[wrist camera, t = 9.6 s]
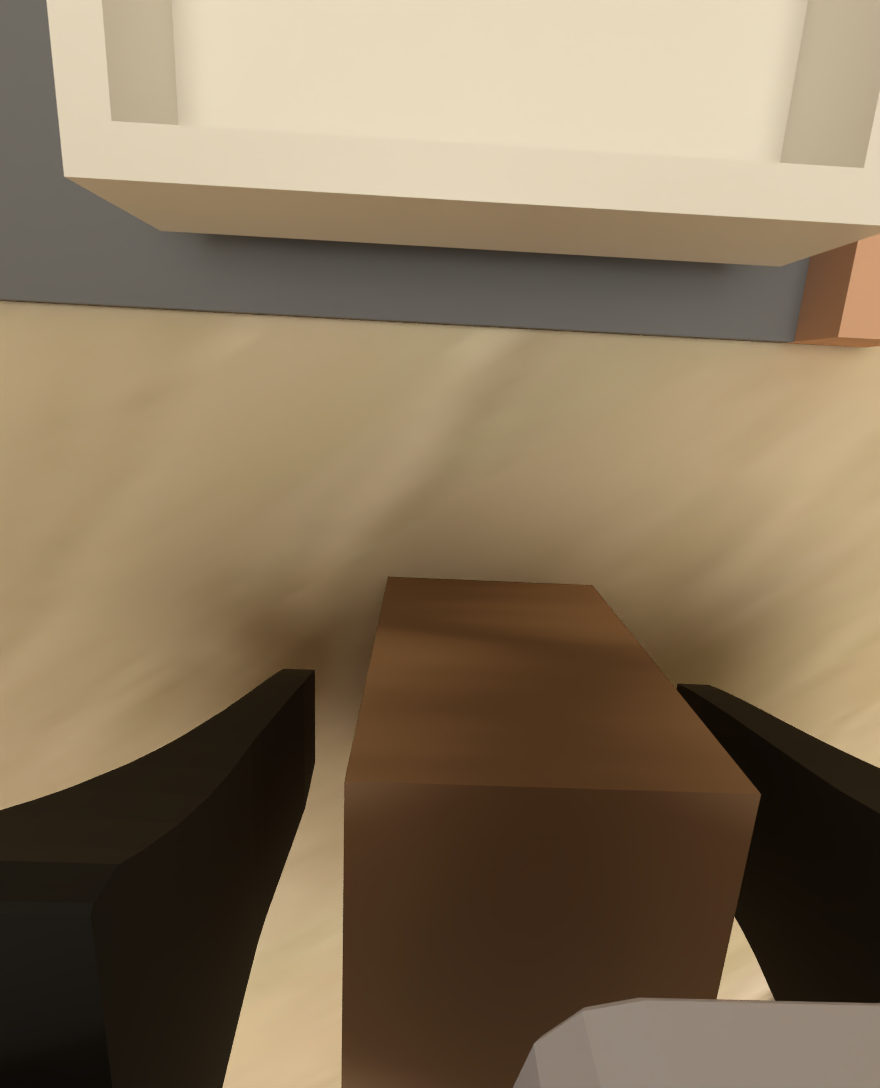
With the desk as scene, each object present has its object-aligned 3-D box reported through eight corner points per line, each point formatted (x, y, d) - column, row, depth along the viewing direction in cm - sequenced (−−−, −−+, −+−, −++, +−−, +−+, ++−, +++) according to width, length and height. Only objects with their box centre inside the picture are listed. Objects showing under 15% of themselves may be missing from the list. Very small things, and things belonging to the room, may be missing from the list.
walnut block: (382, 756, 14) (341, 1090, 8) (388, 576, 13) (343, 781, 6) (570, 762, 14) (694, 1097, 8) (591, 585, 13) (760, 793, 7)
